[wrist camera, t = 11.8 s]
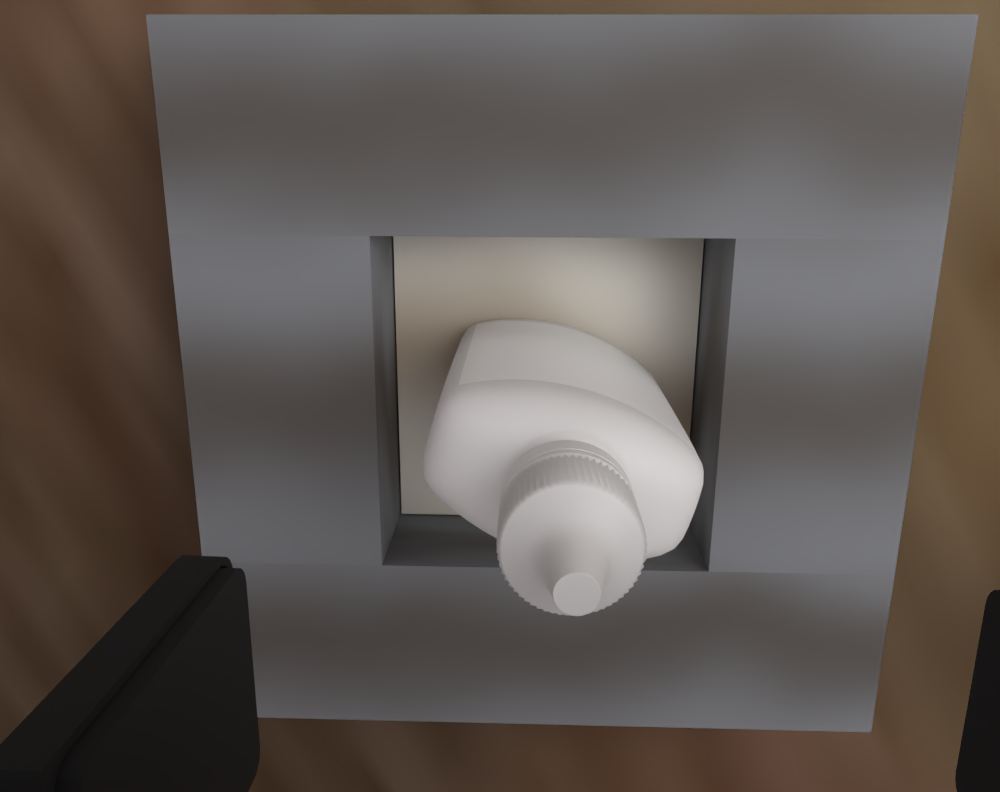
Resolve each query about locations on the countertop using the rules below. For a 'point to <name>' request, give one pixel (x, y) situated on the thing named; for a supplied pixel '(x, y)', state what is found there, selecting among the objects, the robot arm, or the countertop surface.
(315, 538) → the holder block
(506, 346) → the eye dropper bottle
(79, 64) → the countertop surface
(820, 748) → the countertop surface
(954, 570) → the countertop surface
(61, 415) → the countertop surface
